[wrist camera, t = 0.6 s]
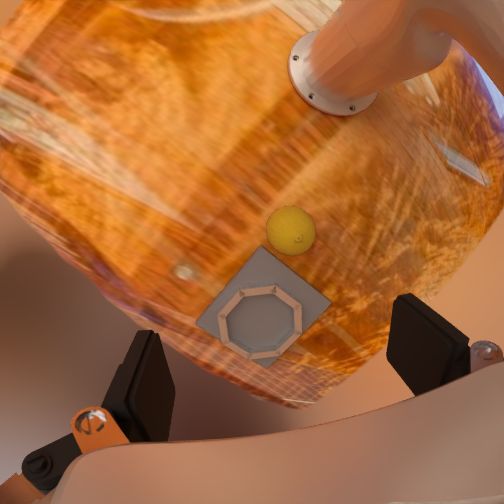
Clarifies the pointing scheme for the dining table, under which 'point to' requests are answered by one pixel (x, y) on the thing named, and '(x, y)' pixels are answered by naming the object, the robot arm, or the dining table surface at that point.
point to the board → (264, 305)
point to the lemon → (290, 230)
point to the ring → (251, 291)
